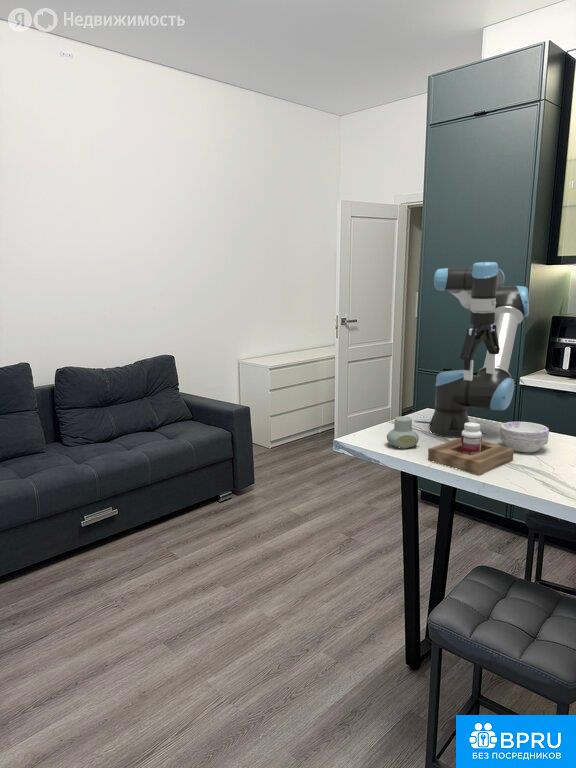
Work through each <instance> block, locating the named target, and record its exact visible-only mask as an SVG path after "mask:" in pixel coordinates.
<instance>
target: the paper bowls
mask: <svg viewBox="0 0 576 768" xmlns="http://www.w3.org/2000/svg"><path fill="white" fill-rule="evenodd" d="M549 433H550V429H549V427H547V426H545V425H543V424H540V423H535V422H530V421H529V422H527V421H508V422H503V423H501V424H500V425H499V439H500V440H501V442H503V443H504V444H505V447H510V448H514V452H519V453H536V452H538V451H540V450H541V449H542V446H545V445H547V444H548V442H549Z"/></svg>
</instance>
